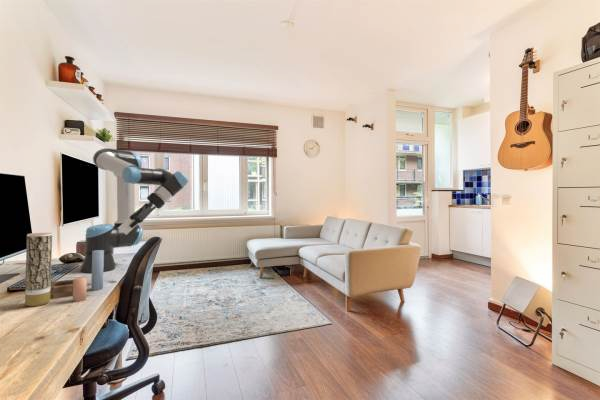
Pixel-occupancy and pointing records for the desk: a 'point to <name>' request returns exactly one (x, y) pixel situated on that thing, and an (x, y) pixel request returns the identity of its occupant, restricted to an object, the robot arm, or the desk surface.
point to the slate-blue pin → (97, 270)
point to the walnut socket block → (61, 289)
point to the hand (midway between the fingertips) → (121, 231)
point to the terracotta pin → (79, 289)
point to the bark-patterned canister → (38, 269)
